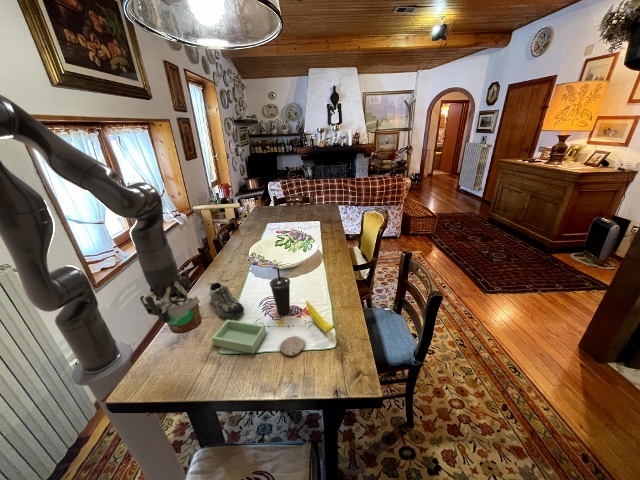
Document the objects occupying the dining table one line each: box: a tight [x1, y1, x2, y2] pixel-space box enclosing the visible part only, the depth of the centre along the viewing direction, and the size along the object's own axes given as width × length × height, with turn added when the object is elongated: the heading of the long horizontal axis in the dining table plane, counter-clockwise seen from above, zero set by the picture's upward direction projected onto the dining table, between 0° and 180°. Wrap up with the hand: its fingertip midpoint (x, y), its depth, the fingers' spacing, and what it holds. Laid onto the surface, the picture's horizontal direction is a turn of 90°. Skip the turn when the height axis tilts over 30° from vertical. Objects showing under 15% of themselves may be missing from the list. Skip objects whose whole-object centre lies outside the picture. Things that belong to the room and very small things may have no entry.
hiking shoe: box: [209, 282, 245, 320], centre depth 102 cm, size 8×21×9 cm, turn 47°
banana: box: [305, 300, 336, 332], centre depth 92 cm, size 3×19×6 cm, turn 32°
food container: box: [160, 295, 202, 335], centre depth 72 cm, size 12×6×10 cm, turn 81°
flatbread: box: [279, 335, 305, 357], centre depth 84 cm, size 8×8×1 cm
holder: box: [211, 319, 267, 355], centre depth 87 cm, size 15×9×4 cm, turn 75°
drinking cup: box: [269, 266, 291, 316], centre depth 96 cm, size 8×8×20 cm
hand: (176, 313), depth 72 cm, fingers closed on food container, 6 cm apart
